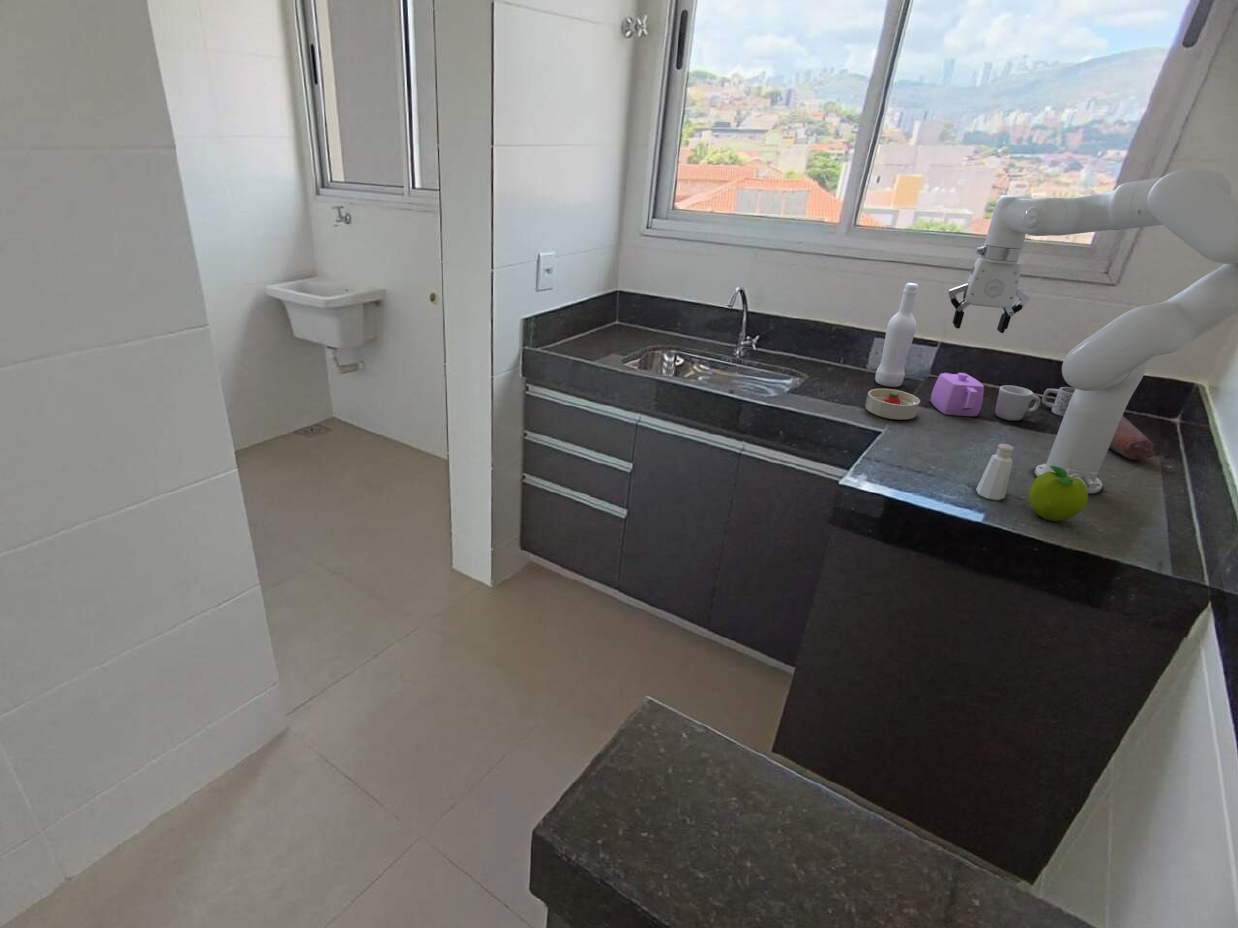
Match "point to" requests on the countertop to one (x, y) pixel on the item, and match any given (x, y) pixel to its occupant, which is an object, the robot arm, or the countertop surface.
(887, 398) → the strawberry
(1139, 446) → the food
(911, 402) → the bowl
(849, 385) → the countertop surface
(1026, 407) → the cup
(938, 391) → the teapot
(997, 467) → the pepper shaker
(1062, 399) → the mug
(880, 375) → the bottle
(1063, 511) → the fruit
